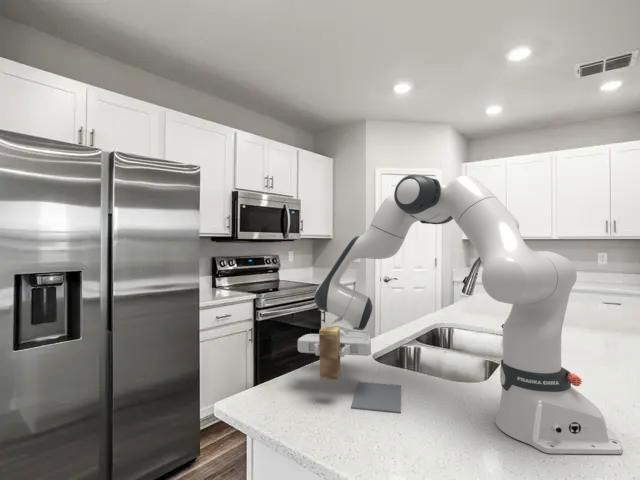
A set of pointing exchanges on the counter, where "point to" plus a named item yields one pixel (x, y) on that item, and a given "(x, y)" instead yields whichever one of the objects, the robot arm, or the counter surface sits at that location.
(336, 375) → the block
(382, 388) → the mat
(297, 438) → the counter surface
